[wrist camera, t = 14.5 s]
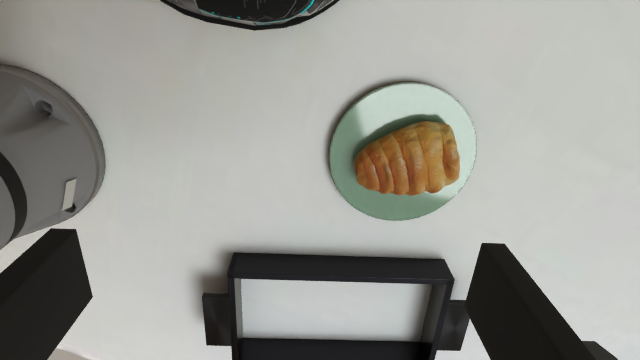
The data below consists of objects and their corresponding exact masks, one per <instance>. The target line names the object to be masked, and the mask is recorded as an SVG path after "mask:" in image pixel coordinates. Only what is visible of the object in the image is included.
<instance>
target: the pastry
mask: <svg viewBox="0 0 640 360" xmlns="http://www.w3.org/2000/svg"><path fill="white" fill-rule="evenodd" d="M457 147H458V146H457V143H456V139H455V135H454V132H453V129H452V128H451V126H450V125H448V124H446V123H440V122H430V121H423V122H418V123H414V124H410V125H408V126H406V127H404V128H400V129H398V130H396V131H393V132H391V133H389V134H387V135H385V136H383V137H381V138H379V139H377V140H375V141H373V142H371V143H369V144H368V145H366V146H365V147H364V148H363V149H362V150H361V151H360V152H359V153H358V154H357V156H356V158H355V160H354V170H355V173H356V179H357V182H358V184H360V185H362V186H363V187H365V188H366V189H368V190H374V191H378V192H380V193H382V194H388V193H393V194H395V195H399V196H401V195H404V194H407V195H410V196H414V195H420V194H422V193H423V192H424V191H427V192H429V193H431V194H434V193H437V192H439V191H440V190H441V189H442V188H443V187H444V186H447V185H451V184H452V183H454V182H455V181H457V180H458V178H459V175H460V173H459V172H460V156H459V153H458V150H457Z"/></svg>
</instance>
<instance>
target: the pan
mask: <svg viewBox="0 0 640 360" xmlns="http://www.w3.org/2000/svg"><path fill="white" fill-rule="evenodd" d="M227 277H228V294H213V293H203V296H202V301H203V312H204V323H205V333H206V344H207V345H214V346H231V347H232V360H434V359H435V355H436V351H437V350H450V351H460V350H461V347H462V343H463V340H464V336H465V333H466V329H467V326H468V323H469V319H470V317H469V315H468V313H467V311H466V309H465V307H464V306H465V302H466V300H450V296H451V292H452V288H453V284H454V280H455V279H454V277H453V275H452V273H451V272H450V270H449V268H448V266H447V264H446V262H445V260H444V259H418V258H386V257H355V256H323V255H291V254H260V253H233V256H232V259H231V262H230V266H229V269H228V272H227ZM241 279H271V280H306V281H341V282H376V283H410V284H433V285H432V290H431V294H430V299H429V303H428V307H427V312H426V316H425V321H424V325H423V330H422V334H421V339H420V342H397V341H352V340H306V339H260V338H243V326H242V300H241Z"/></svg>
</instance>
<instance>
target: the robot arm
mask: <svg viewBox="0 0 640 360" xmlns="http://www.w3.org/2000/svg"><path fill="white" fill-rule="evenodd" d="M104 174H105V155H104V149H103V145H102V142H101V139H100V136H99V134H98V132H97V130H96V128H95V126H94V124H93V123H92V121H91V120H90V118H89V117H88V115H87V114H86V113H85V111H84V110H83V109H82V108H81V107H80V105H79V104H78V103H77V102H76V101H75V100H74V99H73V98H72V97H70V96H69V95H68V94H67V93H66V92H65V91H63V90H62V89H61V88H59V87H58V86H56V85H55V84H53V83H52V82H50V81H48V80H47V79H45V78H43V77H41V76H39V75H37V74H34V73H32V72H29V71H26V70H23V69H20V68H16V67H12V66H6V65H0V250H1V249H2V248H3V247H4V246H6V245H7V244H8V243H9V242H11V241H12V240H13V239H15V238H18V237H20V236H23V235H26V234H29V233H32V232H35V231H38V230H41V229H44V228H47V227H49V226H52V225H55V224H58V223H60V222H63V221H65V220H67V219H69V218H71V217H73V216H74V215H76V214H77V213H78V212H79V211H81V210H82V209H83V208H84V207H85V206H86V205H87V204H88V203H89V202H90V201H91V200H92V199H93V198H94V197H95V196H96V194H97V192H98V191H99V189H100V187H101V185H102V182H103V179H104ZM92 297H93V296H92V292H91V288H90V284H89V280H88V276H87V272H86V268H85V264H84V260H83V256H82V252H81V248H80V244H79V240H78V235H77V231H76V229H50V230H49V231H48V232H47V233H45V234H44V235H43V236H42V237H41V238H40V239H39V240H38V241H36V242H35V243H34V244H33V245H32V246H31V247H30V248H29V249H27V250H26V251H25V252H24V253H23V254H22V255H21V256H20V257H18V258H17V259H16V260H15V261H14V262H13V263H12V264H11V265H9V266H8V267H7V268H6V269H5V270H4V271H3V272H2V273H0V360H47V359H48V358H49V356H50V355H51V354H52V352H53V351H54V349H55V348H56V347H57V345H58V344H59V343H60V341H61V340H62V339H63V337H64V336H65V334H66V333H67V332H68V330H69V329H70V328H71V326H72V325H73V323H74V322H75V321H76V319H77V318H78V317H79V315H80V314H81V312H82V311H83V310H84V308H85V307H86V306H87V304H88V303H89V301H90V300H91V299H92ZM464 307H465V309H466V311H467V313H468V315H469V317H470V319H471V321H472V323H473V325H474V327H475V329H476V331H477V333H478V335H479V337H480V339H481V341H482V343H483V345H484V347H485V349H486V351H487V353H488V355H489V357H490V359H491V360H618V359H617V358H616V357H614V356H613V355H612V354H611V353H609V352H608V351H607V350H605V349H604V348H603V347H602V346H600V345H599V344H598V343H596V342H595V341H581V340H580V338H579V337H578V336H577V335H576V333H575V332H574V331H573V330H572V328H571V327H570V326H569V325H568V323H567V322H566V321H565V319H564V318H563V317H562V316H561V314H560V313H559V312H558V311H557V309H556V308H555V307H554V306H553V304H552V303H551V302H550V301H549V299H548V298H547V297H546V296H545V294H544V293H543V292H542V290H541V289H540V288H539V287H538V285H537V284H536V283H535V282H534V280H533V279H532V278H531V277H530V275H529V274H528V273H527V272H526V270H525V269H524V268H523V266H522V265H521V264H520V263H519V261H518V260H517V259H516V258H515V256H514V255H513V254H512V253H511V251H510V250H509V249H508V248H507V246H506V245H505V244H497V243H482V244H481V248H480V252H479V255H478V259H477V263H476V266H475V270H474V273H473V277H472V281H471V284H470V288H469V291H468V295H467V299H466V302H465V306H464Z"/></svg>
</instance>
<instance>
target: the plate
mask: <svg viewBox="0 0 640 360" xmlns="http://www.w3.org/2000/svg"><path fill="white" fill-rule="evenodd" d="M423 121H430V122H440V123H446V124H448V125H450V126H451V128H452V129H453V132H454V135H455V139H456V143H457V146H458V147H457V150H458V153H459V156H460V172H459V173H460V175H459V178H458V180H457V181H455V182H454V183H452V184H451V185H447V186H444V187H443V188H442V189H441V190H440V191H439V192H437V193H434V194H431V193H429V192H427V191H424V192H423V193H422V194H420V195H414V196H410V195H407V194H404V195H401V196H399V195H395V194H393V193H388V194H382V193H380V192H378V191H374V190H368V189H366V188H365V187H363V186H362V185H360V184H358V182H357V179H356V173H355V170H354V160H355V158H356V156H357V154H358V153H359V152H360V151H361V150H362V149H363V148H364V147H365V146H366V145H368V144H369V143H371V142H373V141H375V140H377V139H379V138H381V137H383V136H385V135H387V134H389V133H391V132H393V131H396V130H398V129H400V128H404V127H406V126H408V125H410V124H414V123H418V122H423ZM476 149H477V141H476V133H475V129H474V125H473V123H472V121H471V118H470V116H469V115H468V113H467V111H466V110H465V108H464V107H463V106H462V105H461V104H460V103H459V102H458V101H457V100H456V99H455V98H454V97H452V96H451V95H450V94H448V93H446V92H445V91H443V90H441V89H439V88H437V87H434V86H431V85H427V84H424V83H416V82H402V83H395V84H390V85H387V86H383V87H381V88H378V89H376V90H374V91H372V92H370V93H368V94H367V95H365V96H363V97H362V98H361V99H359V100H358V101H357V102H356V103H354V104H353V105H352V106H351V107H350V108H349V109H348V111H347V112H346V113H345V114H344V116H343V117H342V118H341V120H340V122H339V123H338V125H337V127H336V130H335V132H334V134H333V138H332V141H331V146H330V168H331V173H332V177H333V180H334V182H335V185H336V187H337V189H338V190H339V192H340V193H341V195H342V196H343V197H344V198H345V199H346V201H347V202H348V203H350V204H351V205H352V206H353V207H354V208H356V209H357V210H359V211H360V212H362V213H365V214H367V215H369V216H372V217H375V218H378V219H383V220H392V221H398V220H409V219H414V218H418V217H421V216H424V215H427V214H429V213H431V212H433V211H435V210H437V209H439V208H440V207H442V206H443V205H445V204H446V203H447V202H448V201H450V200H451V199H452V198H453V197H454V196H455V195H456V194H457V193H458V192H459V191H460V189H461V188H462V187H463V186H464V184H465V182H466V181H467V179H468V177H469V175H470V173H471V171H472V168H473V165H474V162H475V157H476Z"/></svg>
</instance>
